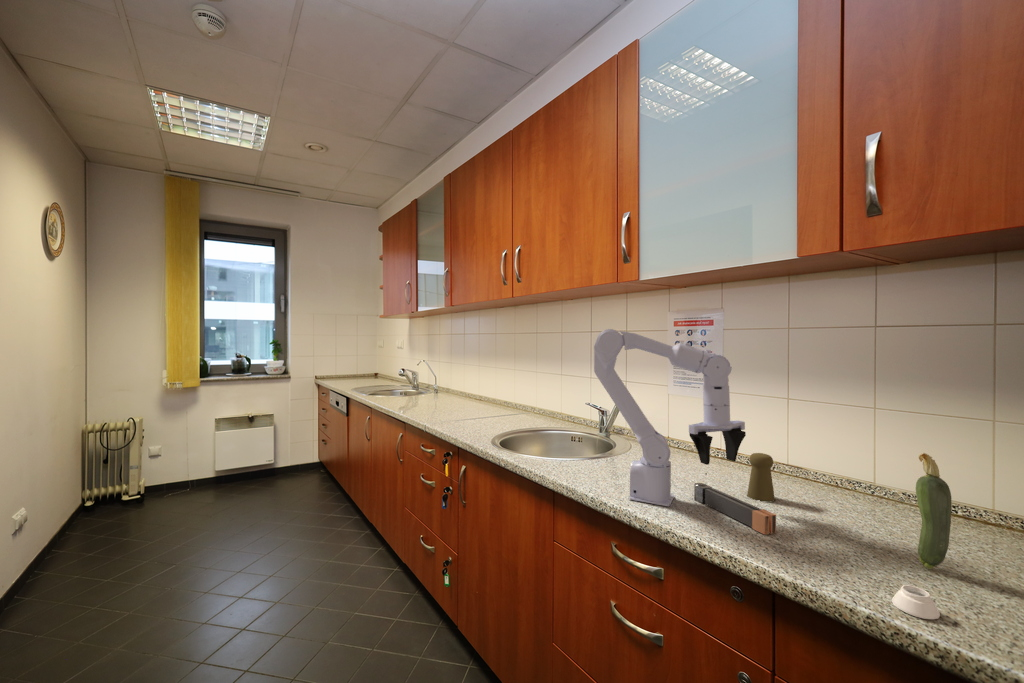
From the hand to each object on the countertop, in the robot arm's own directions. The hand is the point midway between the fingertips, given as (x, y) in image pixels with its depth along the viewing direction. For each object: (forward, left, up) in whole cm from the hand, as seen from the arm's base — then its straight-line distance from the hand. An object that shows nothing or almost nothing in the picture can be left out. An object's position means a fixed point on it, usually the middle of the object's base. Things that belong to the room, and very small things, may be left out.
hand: (718, 461), depth 103 cm
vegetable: (+34, -14, -11) cm, 39 cm away
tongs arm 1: (+4, -7, -10) cm, 13 cm away
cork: (+9, +12, -11) cm, 18 cm away
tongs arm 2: (+5, -6, -10) cm, 13 cm away
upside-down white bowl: (+28, -30, -11) cm, 43 cm away
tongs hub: (-4, +2, -10) cm, 11 cm away
